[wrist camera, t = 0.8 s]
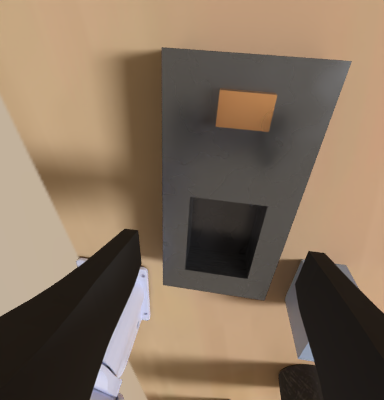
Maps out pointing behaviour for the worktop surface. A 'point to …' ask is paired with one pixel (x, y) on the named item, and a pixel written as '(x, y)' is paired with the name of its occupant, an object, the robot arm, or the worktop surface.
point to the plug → (295, 316)
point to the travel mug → (300, 383)
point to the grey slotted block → (237, 161)
